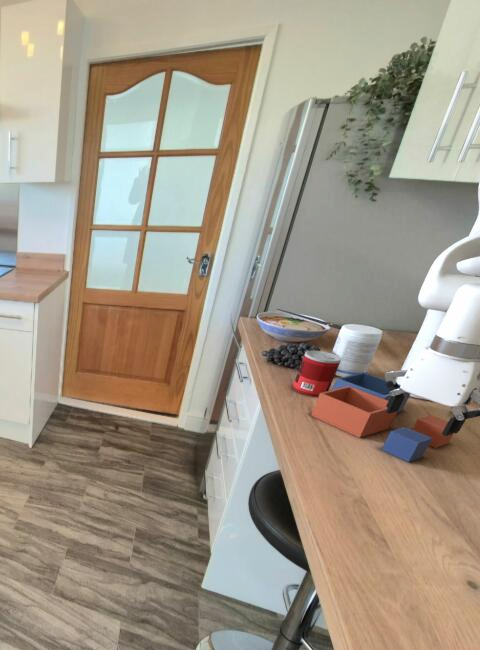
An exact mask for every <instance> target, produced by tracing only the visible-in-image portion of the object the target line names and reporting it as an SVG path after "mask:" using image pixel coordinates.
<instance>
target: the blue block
mask: <svg viewBox="0 0 480 650" xmlns="http://www.w3.org/2000/svg"><path fill="white" fill-rule="evenodd" d="M432 439H433V438H431V437H428V436H426V435H423V434H421V433H418V432H416V431H414V430H412V429H410V428H409V427H406V426H403V427H400V428H397V429H394V430H391V431H390V432H389V434H388V436H387V438H386V441H385V442H384V444H383V445H382V448H381V451H383V452H385V453H387V454H390V455H392V456H394V457H396V458H398V459H401V460H403V461H405V462H407V463H410V462H413V461H416V460H417V459H422V458H423V457H424V455H425V453H426V452H427V449H428V448H429V447H430V446H429V444H430V442H431V441H432Z"/></svg>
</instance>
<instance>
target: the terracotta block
mask: <svg viewBox="0 0 480 650" xmlns="http://www.w3.org/2000/svg"><path fill="white" fill-rule="evenodd" d="M448 421H449V420H446V419H443V418H440V417H437V416H435V415H432V414H429V415H425V416H423V417H419V418H417V419H416V422H415V423H414V425H413V427H412V429H411V430H414V431H416V432H418V433H421V434H423V435H426V436H428V437H431V438H433V439H432V441H431V442H430V444H429V446H428V447H431V448H434V449H436V448H439V447H442V446H445V445H448V444H449V442H450V441H451V438H453V435H455V433H453V434H451V435H448V436H445V435H443V434H442V432H443V430H444V428H445V427H446V425H447V423H448Z"/></svg>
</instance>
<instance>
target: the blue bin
mask: <svg viewBox="0 0 480 650" xmlns="http://www.w3.org/2000/svg"><path fill="white" fill-rule="evenodd" d="M398 385H399V384H398ZM346 386H350V387H353V388H356V389H358V390H361V391H364V392H366V393H369V394H372V395H374V396H377V397H380V398H382V399H385V400H388V401H389V399H390V397H391V395H390V394H389V393H390V391H389V389H388V388H387V386H386V379H385V378H381V377H379V376H376V375H373V374H370V373H368V372H367V373H364V372H362V373H358V374H354V375H350V376H346V377H338V378H336V380H335V382H334V384H333V386H332V389H331V390H335V389H339V388H342V387H346ZM399 387H400V385H399ZM400 388H401V387H400ZM403 395H404V397H405V398H404V400H403V402H402V404H401V406H400V408H399V410H398V411H397V413H400V412H402V411H403V410H404V408H405V406H406V404H407V402H408V400H409V398H410V393H408V392H406V393H403Z"/></svg>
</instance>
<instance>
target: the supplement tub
mask: <svg viewBox="0 0 480 650" xmlns="http://www.w3.org/2000/svg"><path fill="white" fill-rule="evenodd" d="M341 326H342V328H341V329H339V332H338V335H337V338H336V341H335V343H334V346H333V349H332V352H331V354H334V355H336V356H338V357H340V358H341V361H340V364H339V366H338V369H337V371H336V374H335V376H336V377H339V378H341V377H346V376H350V375H354V374H358V373H362V372H364V373H367V374H368V371H369V369H370V366H371V364H372V362H373V359H374V357H375V354H376V352H377V350H378V347H379V345H380V342H381V339H382V335H383V332H384V331H383V330H381V329H380V328H378V327H374V326H371V325H370V326H369V325H365V324H356V323H347V324H343V325H341Z"/></svg>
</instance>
